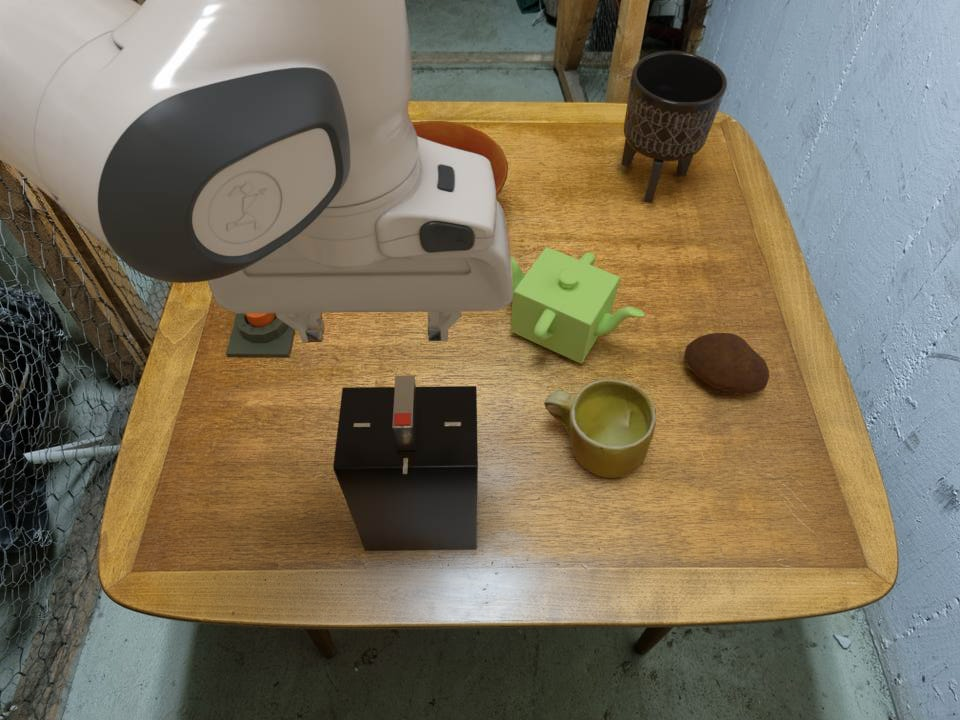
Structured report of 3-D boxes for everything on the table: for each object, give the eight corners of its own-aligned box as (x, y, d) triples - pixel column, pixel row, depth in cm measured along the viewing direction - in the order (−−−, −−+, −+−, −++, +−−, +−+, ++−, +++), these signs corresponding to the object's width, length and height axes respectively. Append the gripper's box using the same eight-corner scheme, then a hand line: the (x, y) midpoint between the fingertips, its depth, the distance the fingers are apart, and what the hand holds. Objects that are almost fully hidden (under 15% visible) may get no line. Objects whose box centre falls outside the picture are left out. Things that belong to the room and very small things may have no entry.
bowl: (422, 154, 110) (418, 100, 102) (532, 206, 103) (537, 152, 95) (336, 227, 100) (324, 173, 92) (450, 290, 93) (448, 238, 85)
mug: (677, 425, 79) (668, 392, 71) (634, 500, 77) (620, 476, 68) (587, 383, 85) (570, 348, 77) (545, 452, 83) (523, 424, 75)
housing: (289, 357, 86) (285, 345, 84) (227, 356, 86) (221, 345, 84) (301, 298, 92) (298, 285, 90) (243, 297, 92) (238, 285, 90)
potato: (755, 415, 82) (776, 383, 76) (671, 384, 85) (686, 352, 79) (766, 371, 86) (787, 338, 80) (686, 344, 88) (700, 310, 83)
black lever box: (364, 557, 72) (331, 474, 55) (370, 477, 77) (342, 380, 60) (476, 555, 72) (478, 472, 55) (475, 476, 77) (476, 379, 61)
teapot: (492, 300, 92) (495, 244, 84) (582, 277, 95) (593, 220, 86) (533, 388, 84) (540, 337, 75) (630, 361, 87) (648, 308, 78)
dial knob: (399, 400, 59) (395, 373, 56) (417, 400, 59) (414, 373, 56) (396, 451, 56) (391, 426, 53) (415, 450, 57) (412, 425, 53)
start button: (273, 327, 87) (269, 317, 85) (245, 327, 87) (240, 317, 85) (278, 305, 89) (274, 295, 87) (250, 305, 89) (246, 295, 87)
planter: (671, 147, 112) (701, 44, 97) (707, 198, 105) (744, 96, 90) (599, 160, 110) (618, 57, 95) (630, 213, 102) (655, 111, 88)
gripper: (157, 233, 38) (231, 370, 49) (520, 230, 38) (510, 367, 49) (183, 160, 41) (246, 304, 53) (515, 158, 42) (507, 301, 53)
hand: (376, 335), depth 51 cm, fingers open, 8 cm apart
